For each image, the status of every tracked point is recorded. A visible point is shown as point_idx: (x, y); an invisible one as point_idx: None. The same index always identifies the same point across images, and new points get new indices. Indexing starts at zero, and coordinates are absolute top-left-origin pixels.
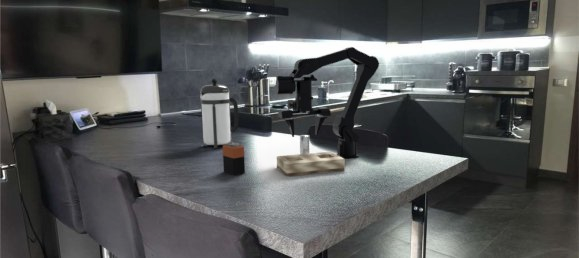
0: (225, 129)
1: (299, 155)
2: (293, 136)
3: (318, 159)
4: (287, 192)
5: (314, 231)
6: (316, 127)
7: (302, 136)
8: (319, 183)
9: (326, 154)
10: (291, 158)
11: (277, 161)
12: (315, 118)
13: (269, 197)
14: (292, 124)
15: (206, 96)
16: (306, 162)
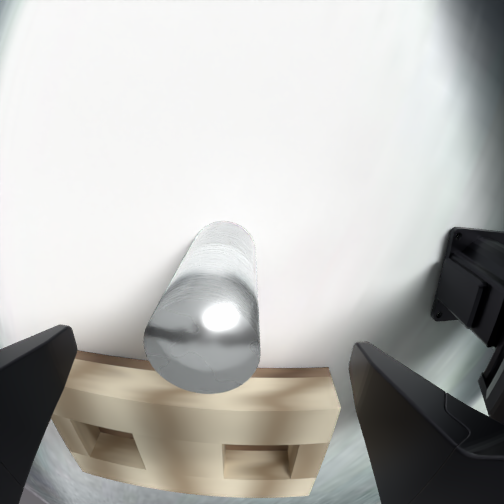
0: None
1: (136, 418)
2: (71, 355)
3: (207, 484)
4: (102, 497)
5: None
6: (384, 423)
7: (166, 375)
8: (177, 499)
9: (285, 444)
10: (97, 421)
11: None
12: (496, 465)
13: (73, 493)
14: (12, 480)
15: None
16: (151, 487)
